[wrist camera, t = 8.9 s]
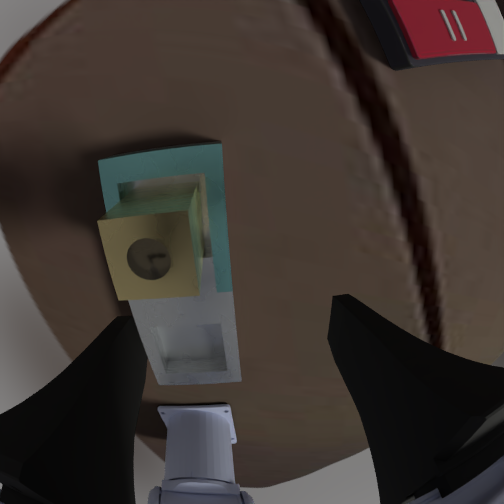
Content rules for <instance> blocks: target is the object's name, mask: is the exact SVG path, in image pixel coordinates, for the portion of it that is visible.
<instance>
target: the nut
mask: <svg viewBox="0 0 504 504" xmlns="http://www.w3.org/2000/svg"><path fill="white" fill-rule="evenodd" d="M97 222H98V226H99V231H100V235H101V240H102V244H103V248H104V252H105V256H106V259H107V263H108V267H109V270H110V274H111V277H112V281H113V284H114V287H115V291H116V294H117V297H118V300H119V301H120V300H141V299H159V298H175V297H189V296H200V287H201V275H202V265H203V254H204V245H205V242H204V233H203V224H202V214H201V205H200V194H199V183H198V181H196V182H186V183H177V184H168V185H159V186H151V187H144V188H136V189H134V190H132V191H131V192H130V193H129V194H128V195H126V196H125V197H124V198H123V199H122V200H120V201H119V202H118V203H117V204H116V205H115V206H113V207H112V208H111V209H110V210H109V211H108V212H107V213H105V214H104V215H103V216H102V217H101V218H100V219H99V220H98V221H97Z"/></svg>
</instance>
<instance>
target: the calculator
mask: <svg viewBox="0 0 504 504" xmlns="http://www.w3.org/2000/svg"><path fill="white" fill-rule="evenodd" d="M360 2H361V4H362V6H363V8H364V10H365V11H366V13H367V15H368V17H369V19H370V21H371V23H372V25H373V28H374V30H375V32H376V34H377V36H378V38H379V41H380V43H381V45H382V47H383V50H384V52H385V55H386V57H387V60H388V62H389V64H390V67H391V68H392V69H393V70H395V71H397V70H403V69H409V68H415V67H421V66H428V65H435V64H442V63H451V62H461V61H473V60H491V59H504V19H503V17H502V15H501V12H500V10H499V8H498V6H497V4H496V1H495V0H360Z"/></svg>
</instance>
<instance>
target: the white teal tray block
mask: <svg viewBox="0 0 504 504" xmlns="http://www.w3.org/2000/svg"><path fill="white" fill-rule="evenodd" d="M98 165H99V172H100V179H101V185H102V191H103V197H104V203H105V208H106V213H107V212H108V211H109V210H110V209H111V208H112V207H113V206H115V205H116V204H117V203H118V202H119V201H120V200H122V199H123V198H124V197H125V196H126V195H128V194H129V193H130V192H131V191H132V190H134V189H136V188H144V187H151V186H159V185H168V184H177V183H186V182H196V181H198V183H199V194H200V205H201V214H202V224H203V233H204V242H205V245H204V254H203V265H202V275H201V287H200V296H189V297H175V298H159V299H141V300H128V301H129V304H130V308H131V311H132V314H133V317H134V320H135V323H136V326H137V329H138V332H139V334H140V337H141V340H142V343H143V346H144V348H145V351H146V354H147V356H148V359H149V361H150V364H151V367H152V369H153V371H154V374H155V376H156V379H157V381H158V384H159V385H190V384H211V383H226V382H238V381H242V380H241V371H240V362H239V352H238V342H237V332H236V322H235V312H234V301H233V290H232V278H231V267H230V255H229V243H228V230H227V217H226V203H225V189H224V174H223V158H222V142H221V141H215V142H203V143H193V144H184V145H175V146H167V147H160V148H153V149H146V150H139V151H133V152H127V153H122V154H116V155H113V156H110V157H107V158H104V159H101V160H98Z"/></svg>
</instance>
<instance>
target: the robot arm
mask: <svg viewBox="0 0 504 504" xmlns="http://www.w3.org/2000/svg"><path fill="white" fill-rule="evenodd" d="M328 342H329V345H330V348H331V351H332V354H333V357H334V360H335V363H336V365H337V367H338V369H339V371H340V373H341V375H342V377H343V380H344V382H345V384H346V386H347V388H348V390H349V392H350V394H351V396H352V398H353V401H354V403H355V405H356V407H357V410H358V412H359V414H360V417H361V420H362V423H363V427H364V430H365V433H366V436H367V440H368V444H369V447H370V451H371V455H372V459H373V463H374V468H375V472H376V477H377V483H378V489H379V496H380V504H504V368H503V367H497V366H491V365H487V364H483V363H479V362H475V361H472V360H469V359H465V358H462V357H460V356H457V355H454V354H451V353H449V352H446V351H444V350H441V349H439V348H437V347H435V346H433V345H431V344H429V343H427V342H424V341H422V340H421V339H419V338H417V337H415V336H413V335H411V334H410V333H408V332H406V331H405V330H403V329H401V328H400V327H398V326H396V325H395V324H393V323H392V322H390V321H388V320H387V319H385V318H384V317H382V316H381V315H379V314H378V313H376V312H375V311H374V310H372V309H371V308H369V307H368V306H366V305H365V304H363V303H362V302H360V301H359V300H357V299H356V298H354V297H353V296H351V295H349V294H343V295H337V296H333V299H332V308H331V316H330V323H329V331H328ZM146 368H147V354H146V351H145V349H144V346H143V344H142V341H141V338H140V336H139V333H138V330H137V328H136V325H135V322H134V319H133V316H117V317H116V318H115V319H114V320H113V321H112V322H111V323H110V324H109V325H108V326H107V327H106V328H105V329H104V330H103V331H102V332H101V333H100V334H99V335H98V337H97V338H96V339H95V340H94V341H93V342H92V343H91V344H90V345H89V346H88V347H87V348H86V349H85V350H84V351H83V352H82V353H81V354H80V355H79V356H78V357H77V358H76V359H75V360H74V361H73V362H72V363H71V364H70V365H69V366H68V367H67V368H66V369H65V370H64V371H63V372H61V373H60V374H59V375H58V376H57V377H56V378H54V379H53V380H52V381H51V382H49V383H48V384H47V385H46V386H44V387H43V388H42V389H40V390H39V391H38V392H36V393H35V394H33V395H32V396H31V397H29V398H28V399H26V400H25V401H23V402H22V403H20V404H18V405H16V406H15V407H13V408H11V409H9V410H8V411H6V412H4V413H2V414H0V483H2V484H3V486H2V489H0V504H136V503H135V492H134V472H133V471H134V470H133V456H134V437H135V429H136V424H137V419H138V413H139V408H140V404H141V399H142V394H143V389H144V384H145V379H146ZM158 412H159V414H160V416H161V418H162V419H163V421H164V423H165V425H166V427H167V429H168V430H167V443H166V459H165V478H164V480H162V488H161V487H158V486H155V487H154V489H152V490H151V491H150V493H149V497H148V504H254V501H253V499H252V497H251V496H250V495H248V494H247V493H246V492H245V491H240V487H239V484H235V478H234V467H233V456H232V445H231V444H232V443H236V442H237V439H236V434H235V429H234V424H233V419H232V413H231V408H230V405H228V404H219V405H199V406H159V407H158Z"/></svg>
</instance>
